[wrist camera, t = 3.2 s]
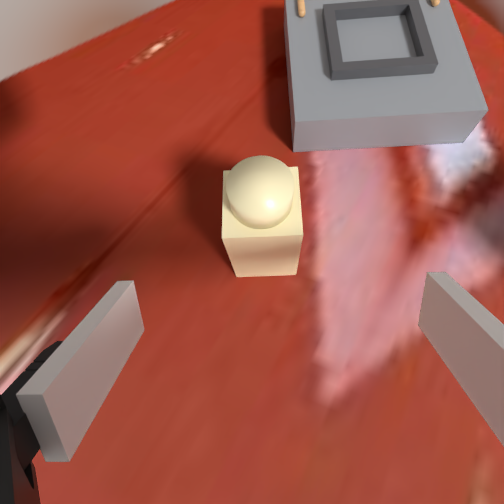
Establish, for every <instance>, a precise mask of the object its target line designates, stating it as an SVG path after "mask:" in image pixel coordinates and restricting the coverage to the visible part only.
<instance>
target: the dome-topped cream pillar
mask: <svg viewBox="0 0 504 504" xmlns="http://www.w3.org/2000/svg"><path fill="white" fill-rule="evenodd" d="M302 239H303V227H302V214H301V201H300V189H299V176H298V167H287V166H286V165H285V164H284V163H283V162H281V161H280V160H278V159H276V158H273V157H269V156H253V157H249V158H246V159H244V160H242V161H241V162H239V163H238V164H236V165H235V166H234V167H233V168H232V170H227V171H223V205H222V240H223V243H224V246H225V248H226V251H227V253H228V256H229V259H230V261H231V264H232V266H233V269H234V272H235V274H236V277H249V276H278V275H296V272H297V266H298V261H299V255H300V250H301V244H302Z"/></svg>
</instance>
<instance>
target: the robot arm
mask: <svg viewBox="0 0 504 504" xmlns="http://www.w3.org/2000/svg"><path fill="white" fill-rule="evenodd" d="M418 326H419V327H420V329H421V330H422V331H423V333H424V334H425V336H426V337H427V339H428V340H429V341H430V343H431V344H432V346H433V347H434V348H435V350H436V351H437V353H438V354H439V356H440V357H441V358H442V360H443V361H444V363H445V364H446V366H447V367H448V368H449V370H450V371H451V373H452V374H453V375H454V377H455V378H456V380H457V381H458V383H459V384H460V385H461V387H462V388H463V390H464V391H465V392H466V394H467V395H468V397H469V398H470V400H471V401H472V402H473V404H474V405H475V407H476V408H477V410H478V411H479V412H480V414H481V415H482V417H483V418H484V419H485V421H486V422H487V424H488V425H489V427H490V428H491V429H492V431H493V432H494V434H495V435H496V436H497V438H498V439H499V441H500V442H501V444H502V445H503V446H504V324H502V323H501V322H500V321H499V320H498V319H497V318H496V317H495V316H494V315H493V314H491V313H490V312H489V311H488V310H487V309H486V308H485V307H484V306H483V305H481V304H480V303H479V302H478V301H477V300H476V299H475V298H474V297H473V296H471V295H470V294H469V293H468V292H467V291H466V290H465V289H464V288H463V287H461V286H460V285H459V284H458V283H457V282H456V281H455V280H454V279H453V278H451V277H450V276H449V275H448V274H447V273H446V272H427V275H426V281H425V287H424V293H423V298H422V304H421V310H420V316H419V322H418ZM143 332H144V326H143V321H142V317H141V312H140V308H139V303H138V299H137V294H136V290H135V285H134V281H117V282H116V283H115V284H114V285H113V286H112V288H111V289H110V290H109V291H108V292H107V293H106V294H105V295H104V297H103V298H102V299H101V300H100V301H99V302H98V303H97V304H96V305H95V307H94V308H93V309H92V310H91V311H90V312H89V313H88V314H87V316H86V317H85V318H84V319H83V320H82V321H81V322H80V323H79V324H78V326H77V327H76V328H75V329H74V330H73V331H72V332H71V333H70V335H69V336H68V337H67V338H66V339H65V340H64V341H57V342H55V343H54V344H52V345H51V346H49V347H48V348H46V349H45V350H43V351H42V352H41V354H40V355H39V356H38V357H37V358H36V359H35V360H34V362H33V363H31V364H30V365H29V366H28V367H27V368H26V369H25V370H26V371H25V372H23V373H22V374H21V375H20V376H19V377H18V378H17V379H16V380H15V381H14V382H13V383H12V384H11V385H10V386H9V387H8V388H7V390H6V391H5V392H4V393H3V394H2V395H0V504H40V498H39V491H38V485H37V478H36V472H35V467H34V465H33V463H32V459H33V458H34V456H35V455H36V453H37V452H38V450H39V449H40V450H41V452H42V454H43V457H44V459H45V461H46V462H70V460H71V458H72V456H73V455H74V453H75V451H76V449H77V448H78V446H79V444H80V442H81V441H82V439H83V437H84V435H85V434H86V432H87V430H88V428H89V427H90V425H91V423H92V421H93V420H94V418H95V416H96V414H97V413H98V411H99V409H100V407H101V405H102V404H103V402H104V400H105V398H106V397H107V395H108V393H109V391H110V390H111V388H112V386H113V384H114V383H115V381H116V379H117V377H118V376H119V374H120V372H121V370H122V369H123V367H124V365H125V363H126V362H127V360H128V358H129V356H130V354H131V353H132V351H133V349H134V347H135V346H136V344H137V342H138V340H139V339H140V337H141V335H142V333H143Z"/></svg>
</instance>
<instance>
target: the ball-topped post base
mask: <svg viewBox="0 0 504 504" xmlns="http://www.w3.org/2000/svg"><path fill="white" fill-rule="evenodd" d="M284 35H285V49H286V62H287V76H288V90H289V103H290V117H291V131H292V144H293V152H304V151H322V150H340V149H357V148H375V147H393V146H411V145H428V144H446V143H463V142H464V141H465V140H466V138H467V137H468V136H469V134H470V133H471V132H472V131H473V129H474V128H475V127H476V125H477V124H478V123H479V122H480V120H481V119H482V118H483V116H484V115H485V114H486V113H487V111H488V107H487V104H486V102H485V99H484V96H483V93H482V91H481V88H480V85H479V82H478V80H477V77H476V74H475V72H474V69H473V66H472V63H471V61H470V58H469V55H468V52H467V50H466V47H465V44H464V41H463V39H462V36H461V33H460V30H459V28H458V25H457V22H456V20H455V17H454V14H453V11H452V9H451V6H450V3H449V0H284Z"/></svg>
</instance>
